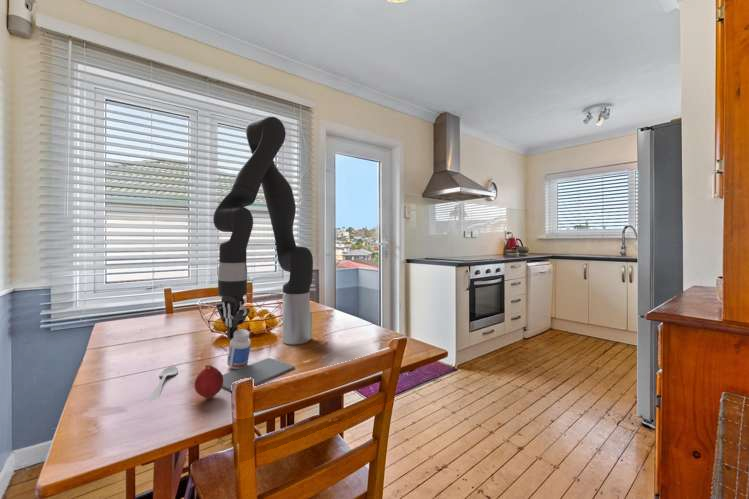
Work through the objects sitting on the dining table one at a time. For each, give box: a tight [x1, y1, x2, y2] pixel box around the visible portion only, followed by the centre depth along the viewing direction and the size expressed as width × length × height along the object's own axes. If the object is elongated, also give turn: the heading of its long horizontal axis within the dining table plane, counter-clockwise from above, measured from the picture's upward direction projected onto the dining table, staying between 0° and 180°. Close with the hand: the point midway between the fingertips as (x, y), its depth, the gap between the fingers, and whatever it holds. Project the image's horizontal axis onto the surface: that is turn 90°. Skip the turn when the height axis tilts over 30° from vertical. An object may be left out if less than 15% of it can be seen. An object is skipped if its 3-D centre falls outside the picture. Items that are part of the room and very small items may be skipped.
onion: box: [194, 363, 224, 400], centre depth 73 cm, size 6×6×8 cm
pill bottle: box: [227, 328, 252, 370], centre depth 91 cm, size 6×5×10 cm
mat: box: [221, 357, 296, 393], centre depth 86 cm, size 18×11×1 cm, turn 146°
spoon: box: [148, 365, 179, 402], centre depth 80 cm, size 4×21×2 cm, turn 19°
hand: (232, 338), depth 92 cm, fingers closed
